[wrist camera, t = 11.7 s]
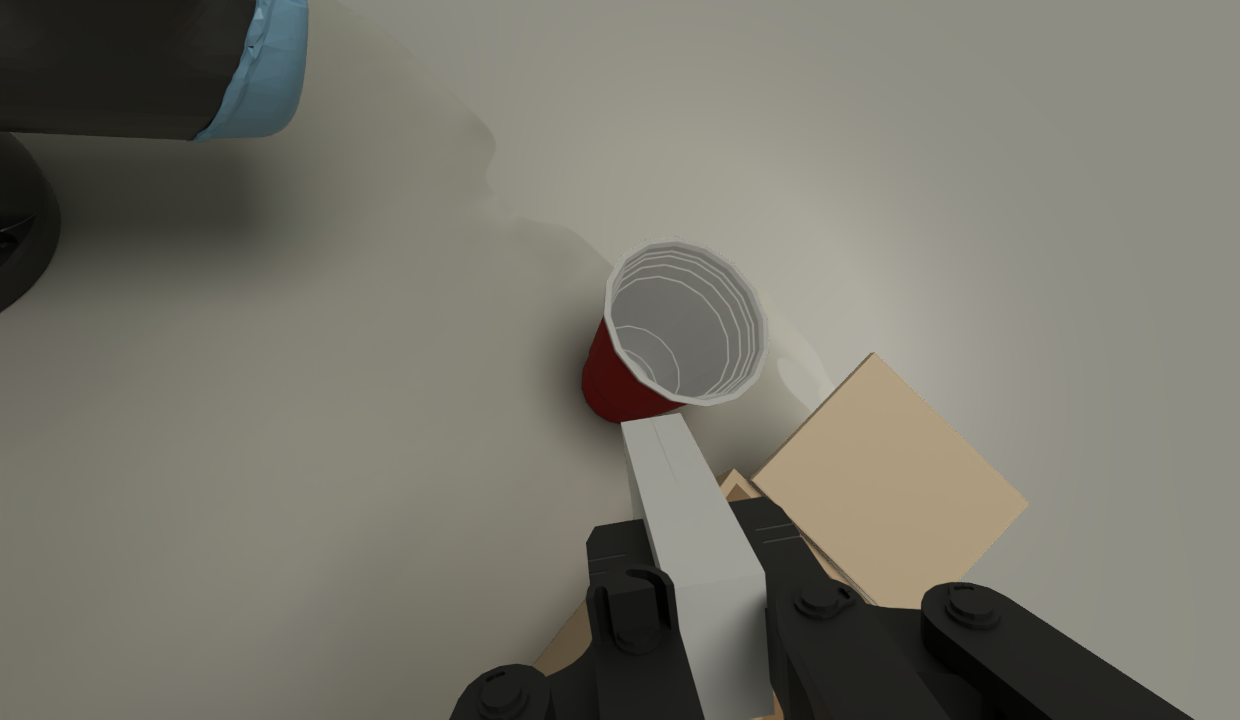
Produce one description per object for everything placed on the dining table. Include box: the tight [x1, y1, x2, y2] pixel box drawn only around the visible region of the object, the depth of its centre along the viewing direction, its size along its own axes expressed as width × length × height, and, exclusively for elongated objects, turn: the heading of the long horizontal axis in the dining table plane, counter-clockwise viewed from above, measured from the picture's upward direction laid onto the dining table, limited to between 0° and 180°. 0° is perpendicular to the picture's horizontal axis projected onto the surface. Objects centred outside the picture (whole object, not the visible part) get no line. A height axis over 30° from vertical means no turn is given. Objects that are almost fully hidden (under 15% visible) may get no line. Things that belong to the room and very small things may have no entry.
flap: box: [750, 352, 1029, 609], centre depth 36 cm, size 12×1×10 cm
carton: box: [533, 469, 872, 720], centre depth 35 cm, size 14×18×10 cm
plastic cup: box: [582, 237, 769, 423], centre depth 42 cm, size 11×11×12 cm
